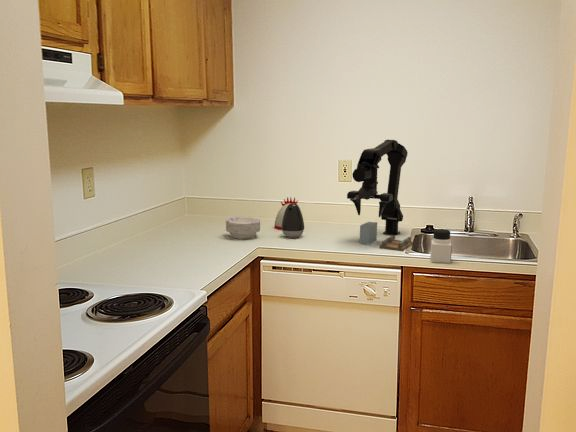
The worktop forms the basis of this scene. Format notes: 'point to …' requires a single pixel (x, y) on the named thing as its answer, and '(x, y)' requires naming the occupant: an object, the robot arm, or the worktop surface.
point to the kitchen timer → (282, 213)
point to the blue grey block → (368, 233)
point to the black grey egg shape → (292, 221)
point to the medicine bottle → (441, 246)
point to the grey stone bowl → (243, 227)
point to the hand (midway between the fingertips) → (369, 216)
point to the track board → (396, 243)
